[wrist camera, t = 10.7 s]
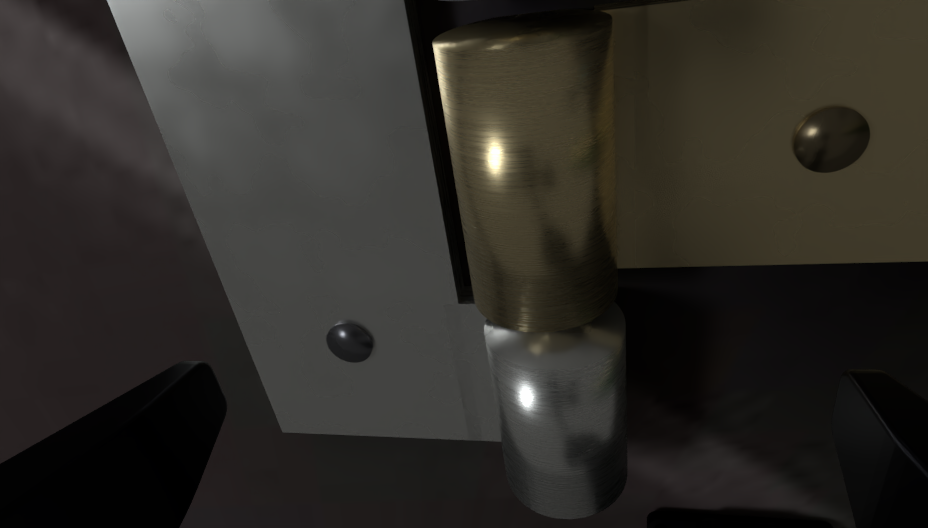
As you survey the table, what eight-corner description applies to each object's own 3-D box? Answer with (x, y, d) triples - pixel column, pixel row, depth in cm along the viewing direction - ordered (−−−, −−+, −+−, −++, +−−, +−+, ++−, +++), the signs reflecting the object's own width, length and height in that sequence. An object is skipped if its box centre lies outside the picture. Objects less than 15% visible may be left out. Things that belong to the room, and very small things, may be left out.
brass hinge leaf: (964, 240, 16) (1057, 333, 13) (485, 254, 19) (461, 332, 16) (1054, -52, 13) (1212, -28, 9) (452, 21, 16) (412, 59, 12)
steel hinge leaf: (625, 425, 22) (629, 523, 18) (293, 413, 25) (245, 496, 21) (613, -403, 11) (617, -524, 8) (38, -247, 14) (-133, -286, 11)
